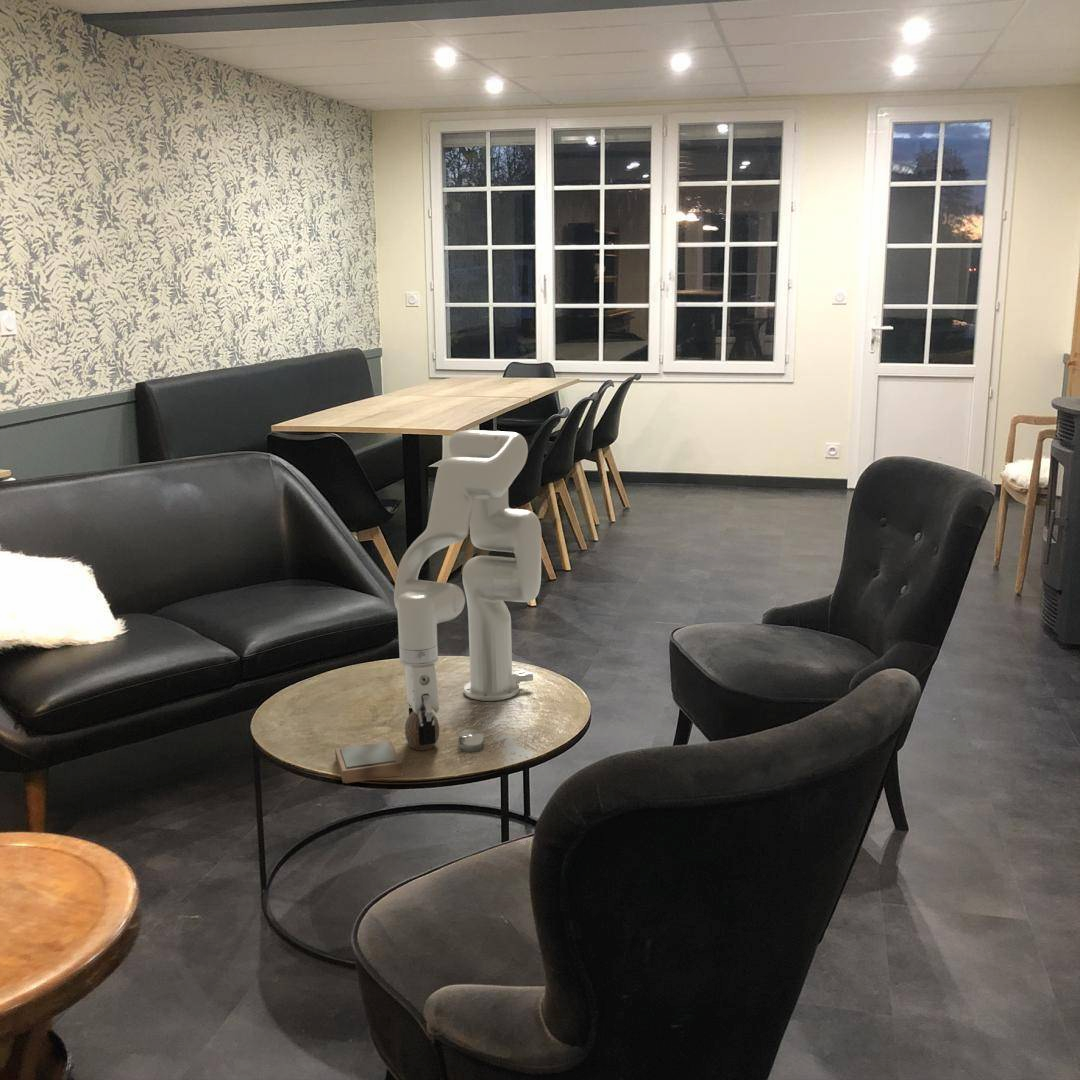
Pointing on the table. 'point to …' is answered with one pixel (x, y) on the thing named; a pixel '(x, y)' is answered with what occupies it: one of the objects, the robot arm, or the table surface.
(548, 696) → the table surface
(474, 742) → the tin
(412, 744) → the vase
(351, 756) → the plinth
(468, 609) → the robot arm
